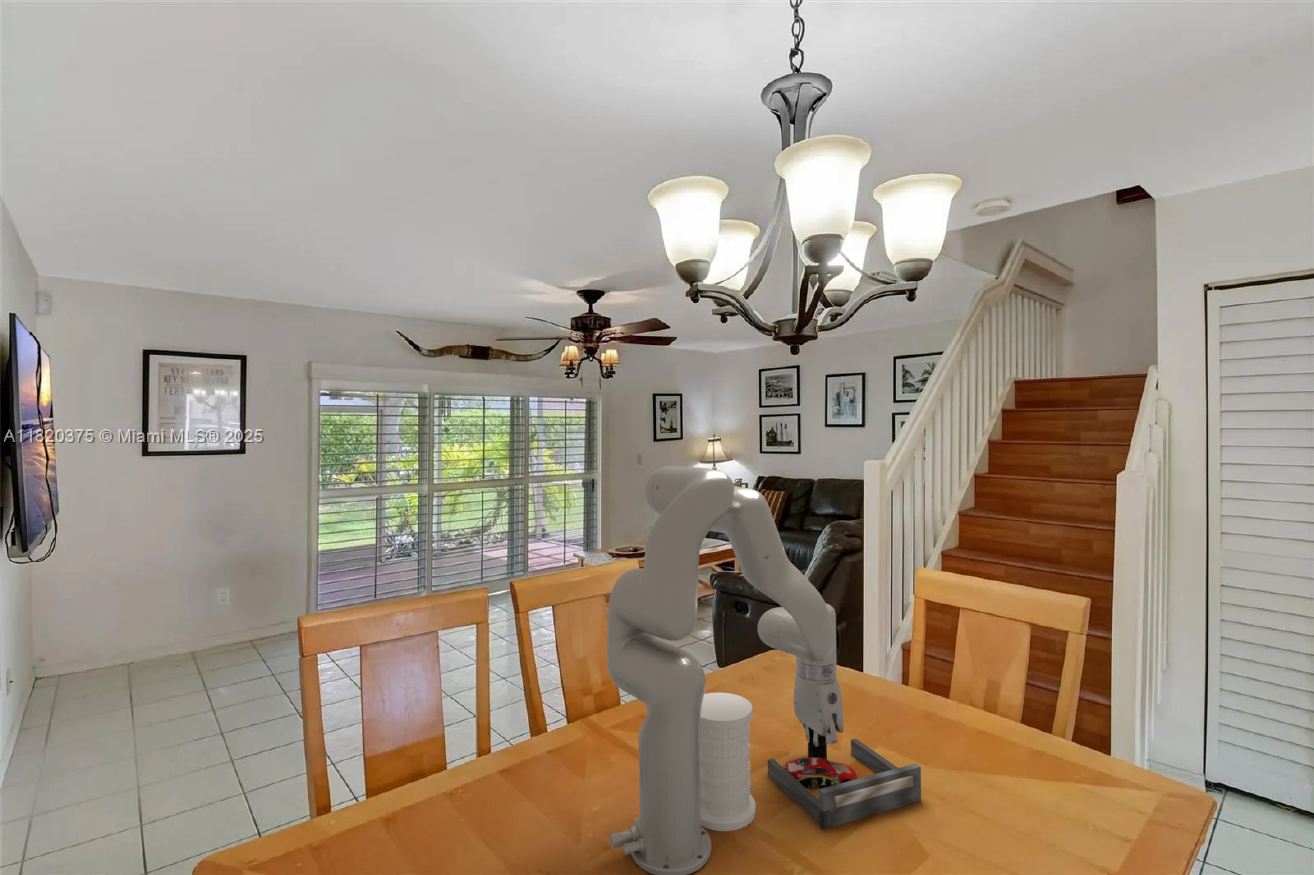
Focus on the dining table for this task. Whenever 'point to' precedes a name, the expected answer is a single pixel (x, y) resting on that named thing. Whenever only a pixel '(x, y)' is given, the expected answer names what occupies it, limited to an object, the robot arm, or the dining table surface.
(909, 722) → the dining table surface
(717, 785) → the decorative container
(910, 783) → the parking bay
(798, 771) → the race car
